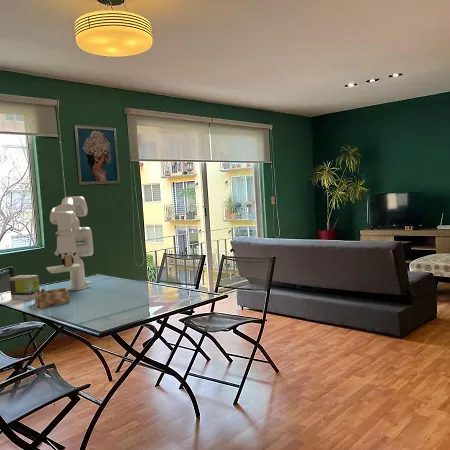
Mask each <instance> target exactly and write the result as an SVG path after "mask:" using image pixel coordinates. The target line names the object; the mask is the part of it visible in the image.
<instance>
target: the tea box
mask: <svg viewBox="0 0 450 450" xmlns="http://www.w3.org/2000/svg"><path fill="white" fill-rule="evenodd" d="M8 278H9V279H8V280H9V287H10V288H9V289H10V299H11V301H33V300H35V293H34V292H40V291H41V289H40V278H39V274H25V275H24V274H20V275H16V276H13V277H8Z"/></svg>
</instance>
